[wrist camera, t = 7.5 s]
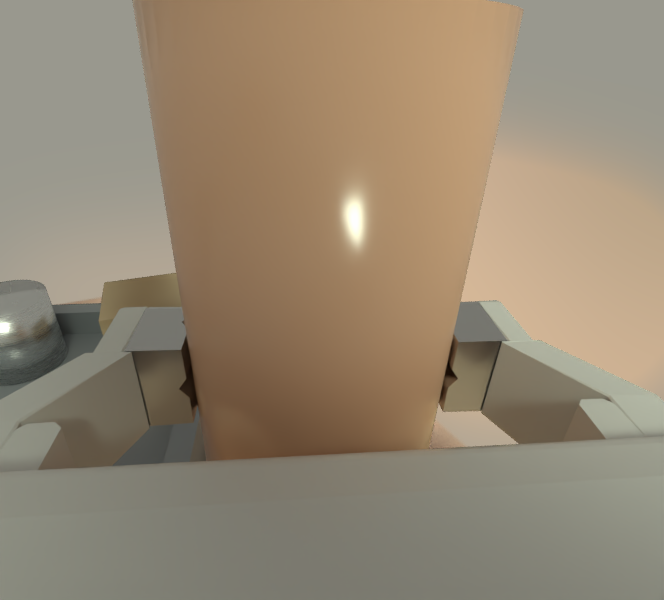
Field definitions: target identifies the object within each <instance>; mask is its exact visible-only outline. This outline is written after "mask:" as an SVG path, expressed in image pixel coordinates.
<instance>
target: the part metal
mask: <svg viewBox="0 0 664 600" xmlns="http://www.w3.org/2000/svg"><path fill="white" fill-rule="evenodd" d="M67 354H68V349H67V346H66V344H65V341H64V338H63V335H62V332H61V330H60V327H59V324H58V321H57V318H56V315H55V313H54V310H53V307H52V304H51V301H50V298H49V296H48V293H47V290H46V288H45V286H44V285H43V284H42V283H40V282H36V281H31V280H13V281H6V282H0V386H12V385H18V384H23V383H27V382H30V381H33V380H36V379H38V378H41V377H42V376H44V375H46V374H48V373H50V372H51V371H53V370H55V369H56V368H57V367H59V366H60V365H61V364H62V363H63V362H64V360H65V359H66V357H67Z"/></svg>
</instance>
